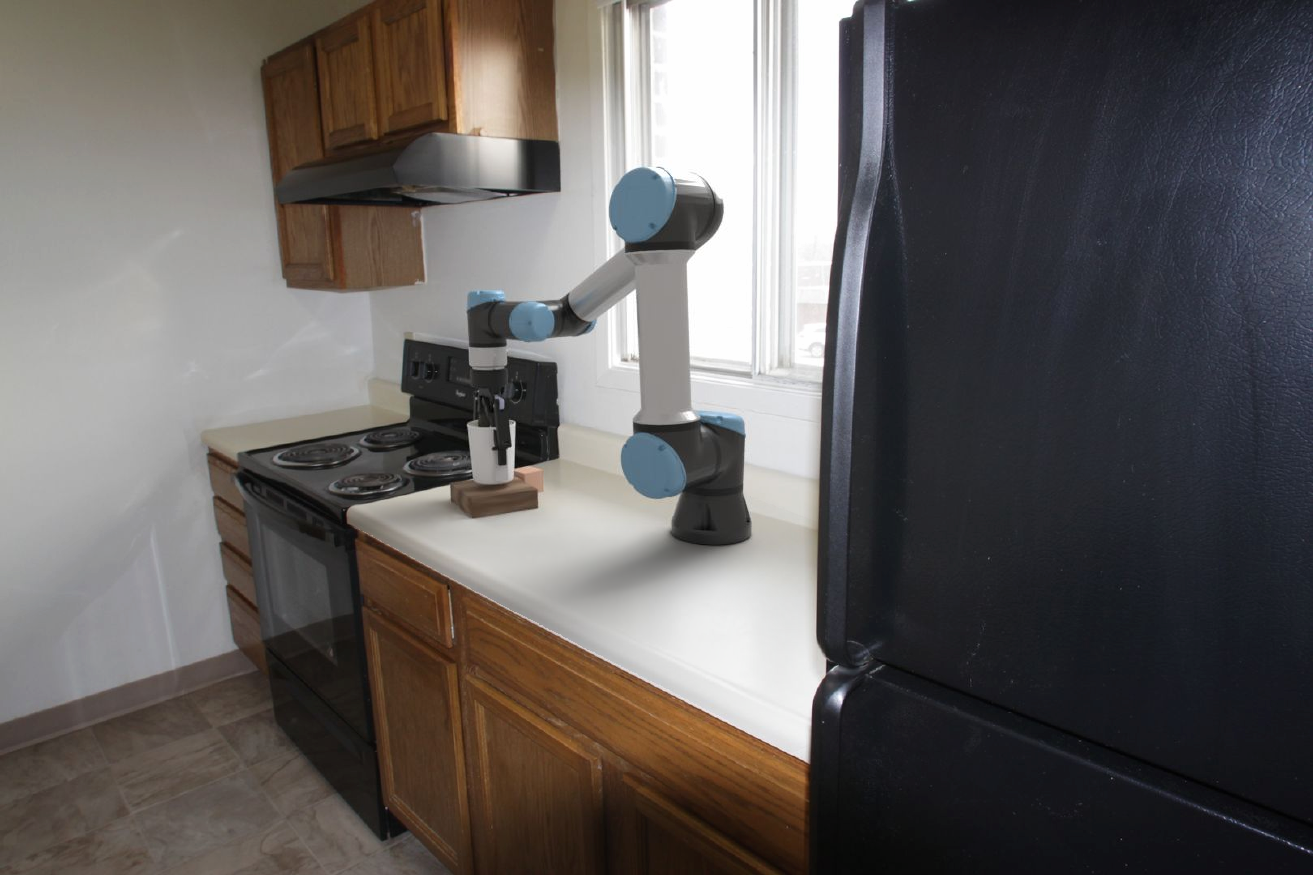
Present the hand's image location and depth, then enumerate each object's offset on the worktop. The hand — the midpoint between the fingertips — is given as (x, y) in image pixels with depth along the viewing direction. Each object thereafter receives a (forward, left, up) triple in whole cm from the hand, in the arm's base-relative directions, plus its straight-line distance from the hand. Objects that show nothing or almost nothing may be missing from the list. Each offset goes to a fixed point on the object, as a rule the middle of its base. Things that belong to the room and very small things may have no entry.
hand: (493, 475), depth 171 cm
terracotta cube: (+6, -10, -7) cm, 13 cm away
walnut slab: (0, 0, -6) cm, 6 cm away
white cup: (0, 0, -1) cm, 1 cm away
